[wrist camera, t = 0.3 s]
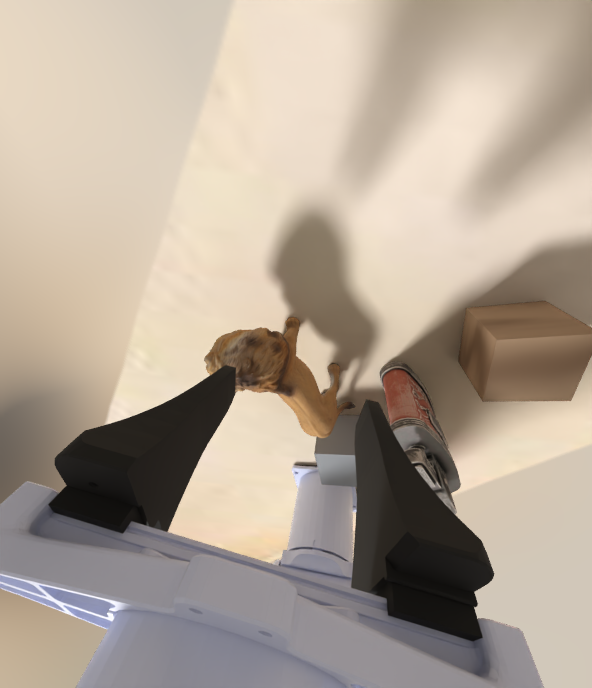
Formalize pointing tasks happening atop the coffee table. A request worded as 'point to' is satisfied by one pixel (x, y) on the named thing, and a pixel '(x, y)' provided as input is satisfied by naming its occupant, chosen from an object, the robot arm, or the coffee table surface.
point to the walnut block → (524, 352)
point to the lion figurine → (279, 374)
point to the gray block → (338, 453)
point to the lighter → (419, 430)
